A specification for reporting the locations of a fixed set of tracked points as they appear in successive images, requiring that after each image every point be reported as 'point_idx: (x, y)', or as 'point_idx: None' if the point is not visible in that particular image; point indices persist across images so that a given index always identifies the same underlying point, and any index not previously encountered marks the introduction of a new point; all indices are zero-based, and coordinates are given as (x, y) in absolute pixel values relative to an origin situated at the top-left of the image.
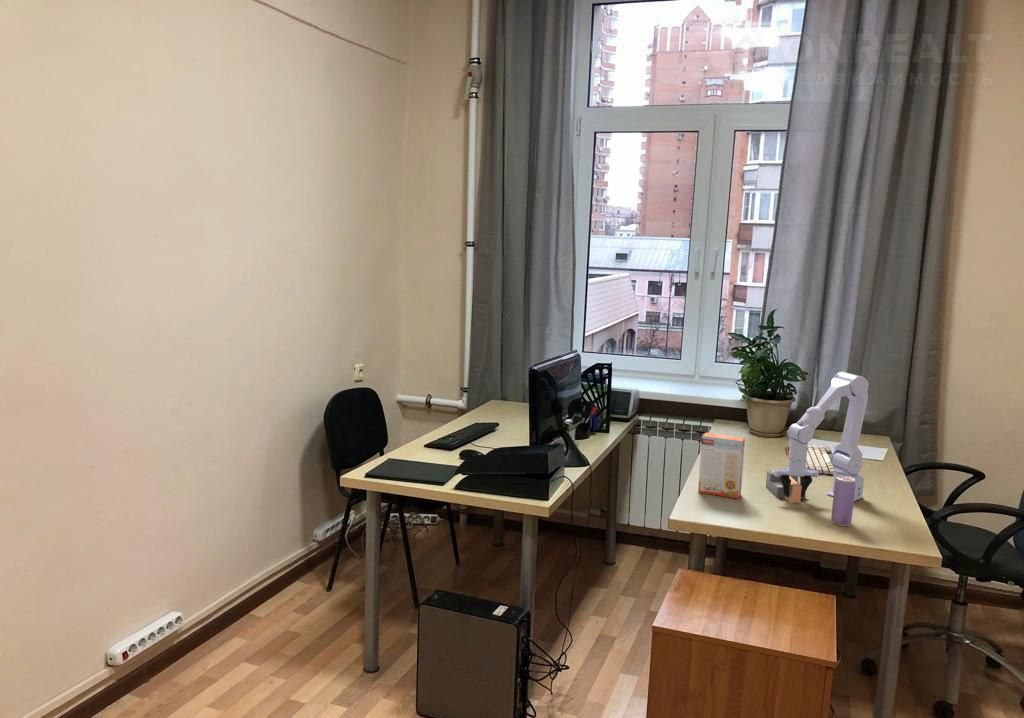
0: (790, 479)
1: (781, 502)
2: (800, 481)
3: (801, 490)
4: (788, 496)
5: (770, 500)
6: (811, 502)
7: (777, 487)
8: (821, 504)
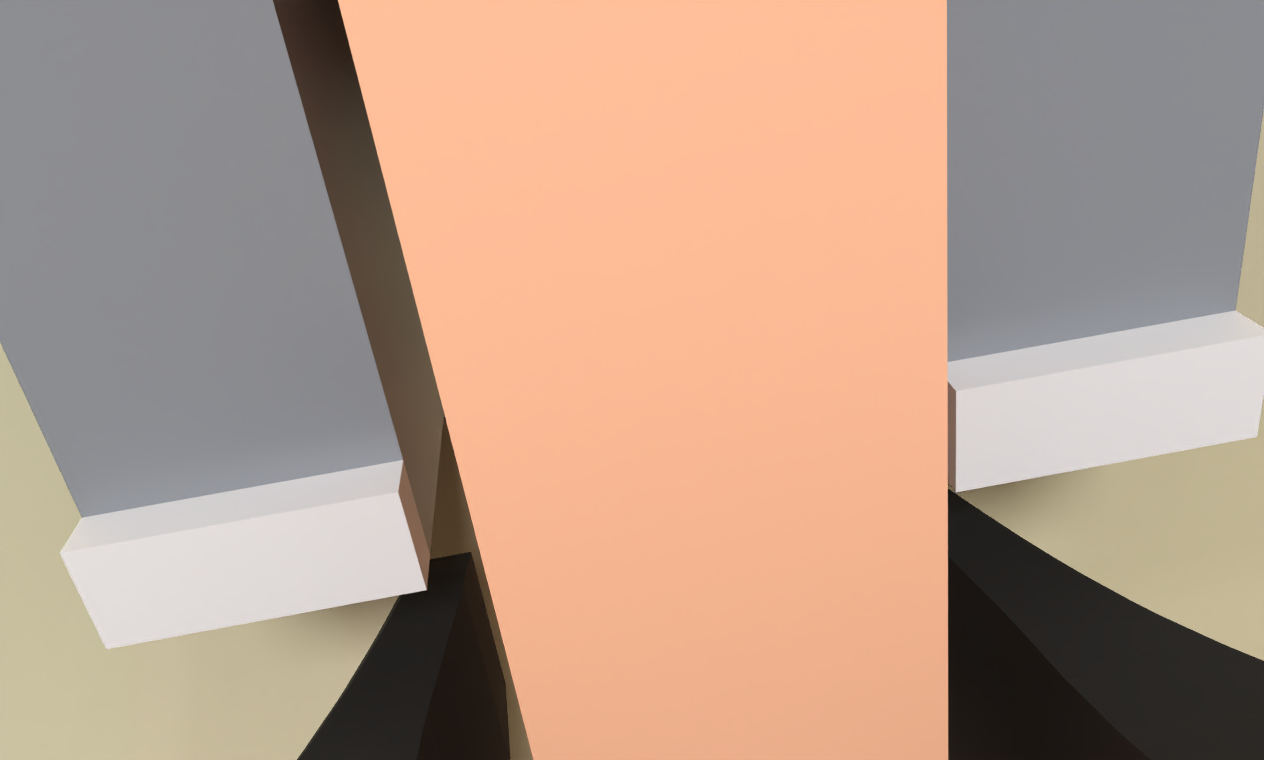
0: (745, 378)
1: (325, 717)
2: (1109, 749)
3: (950, 677)
4: (503, 706)
5: (46, 665)
6: (1068, 541)
7: (118, 617)
8: (1239, 603)
